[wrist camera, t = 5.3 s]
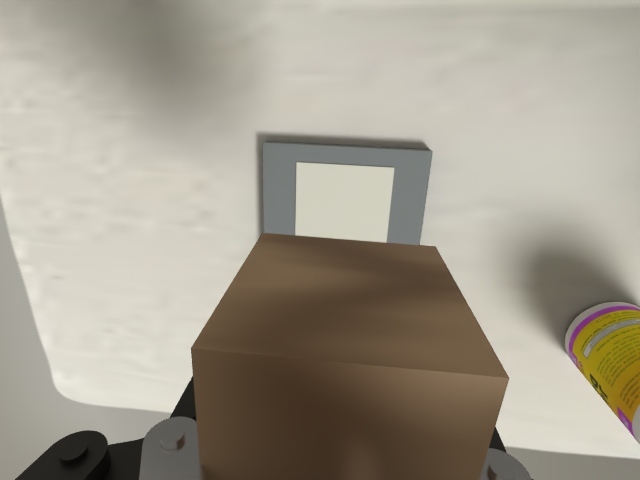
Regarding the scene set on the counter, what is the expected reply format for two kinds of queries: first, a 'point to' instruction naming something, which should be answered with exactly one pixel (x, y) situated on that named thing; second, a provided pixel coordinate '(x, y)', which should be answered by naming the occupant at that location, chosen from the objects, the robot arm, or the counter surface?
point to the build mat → (345, 191)
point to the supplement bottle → (610, 357)
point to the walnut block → (344, 367)
